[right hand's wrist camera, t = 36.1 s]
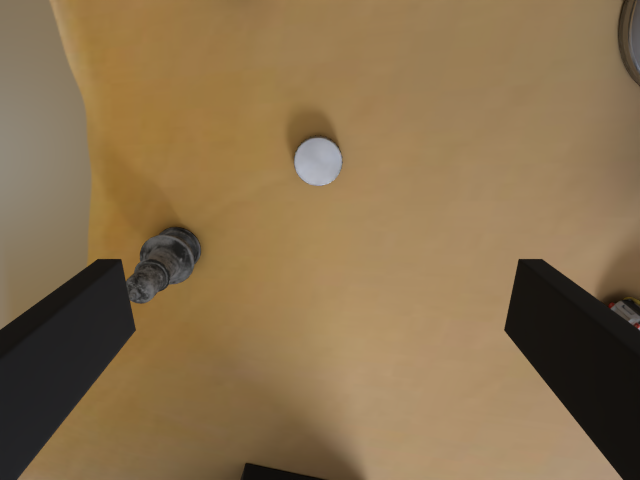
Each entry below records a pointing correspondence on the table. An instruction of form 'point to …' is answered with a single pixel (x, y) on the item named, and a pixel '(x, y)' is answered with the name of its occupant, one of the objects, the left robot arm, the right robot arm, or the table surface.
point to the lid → (318, 160)
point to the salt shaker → (163, 263)
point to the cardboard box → (269, 474)
